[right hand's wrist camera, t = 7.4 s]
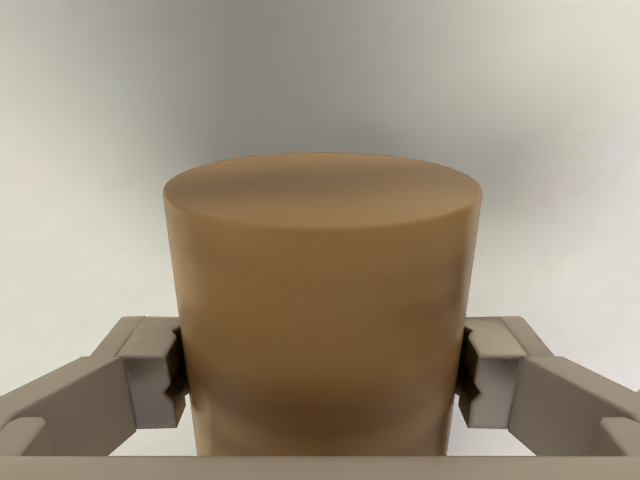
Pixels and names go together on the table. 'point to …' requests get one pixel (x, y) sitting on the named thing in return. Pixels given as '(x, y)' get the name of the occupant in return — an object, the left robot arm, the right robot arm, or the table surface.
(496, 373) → the right robot arm
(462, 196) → the rod
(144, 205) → the table surface
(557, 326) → the table surface
